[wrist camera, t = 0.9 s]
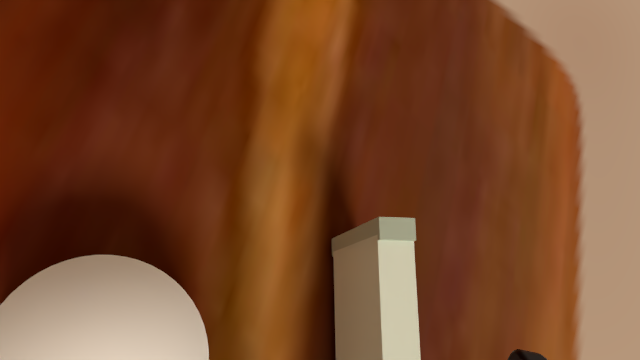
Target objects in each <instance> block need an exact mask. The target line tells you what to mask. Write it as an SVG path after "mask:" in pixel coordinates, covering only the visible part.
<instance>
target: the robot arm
mask: <svg viewBox="0 0 640 360" xmlns="http://www.w3.org/2000/svg"><path fill="white" fill-rule="evenodd" d="M508 360H547V359H546V358H545V357H543V356H542V355H541V354H538V353H535V352H530V351H525V350H520V349H517V350H514V351H513V352H512V353H511V354H510V356H509V358H508Z"/></svg>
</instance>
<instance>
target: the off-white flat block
mask: <svg viewBox="0 0 640 360" xmlns="http://www.w3.org/2000/svg"><path fill="white" fill-rule="evenodd" d="M414 241H416V228H415V218H395V217H378V218H375V219H373V220H371V221H369V222H367V223H365V224H362V225H360V226H358V227H356V228H354V229H352V230H349V231H347V232H345V233H343V234H341V235H338V236H336V237H334V238H332V257H333V259H334V304H335V348H336V360H421V358H420V341H419V324H418V306H417V289H416V272H415V254H414Z"/></svg>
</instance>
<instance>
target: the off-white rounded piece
mask: <svg viewBox="0 0 640 360" xmlns="http://www.w3.org/2000/svg"><path fill="white" fill-rule="evenodd" d="M0 360H209V349H208V341H207V335H206V331H205V327H204V324H203V321H202V319H201V316H200V314H199V312H198V310H197V308H196V306H195V305H194V303H193V301H192V299H191V298H190V297H189V296H188V294H187V293H186V292H185V290H184V289H183V288H182V287H181V286H180V285H179V284H178V283H177V282H176V281H175V280H174V279H172V278H171V277H170V276H168V275H167V274H166V273H164V272H163V271H161V270H159V269H158V268H156V267H154V266H152V265H150V264H147V263H145V262H142V261H140V260H137V259H133V258H129V257H125V256H117V255H90V256H82V257H78V258H74V259H69V260H66V261H63V262H60V263H58V264H55V265H52V266H50V267H48V268H46V269H44V270H42V271H41V272H39V273H37V274H35V275H34V276H32V277H31V278H29V279H28V280H26V281H25V282H24V283H22V284H21V285H20V286H19V287H18V288H17V289H15V290H14V291H13V292H12V293H11V294H10V295H9V296H8V297H7V298H6V299H5V301H4V302H3V303H2V304H1V305H0Z"/></svg>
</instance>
